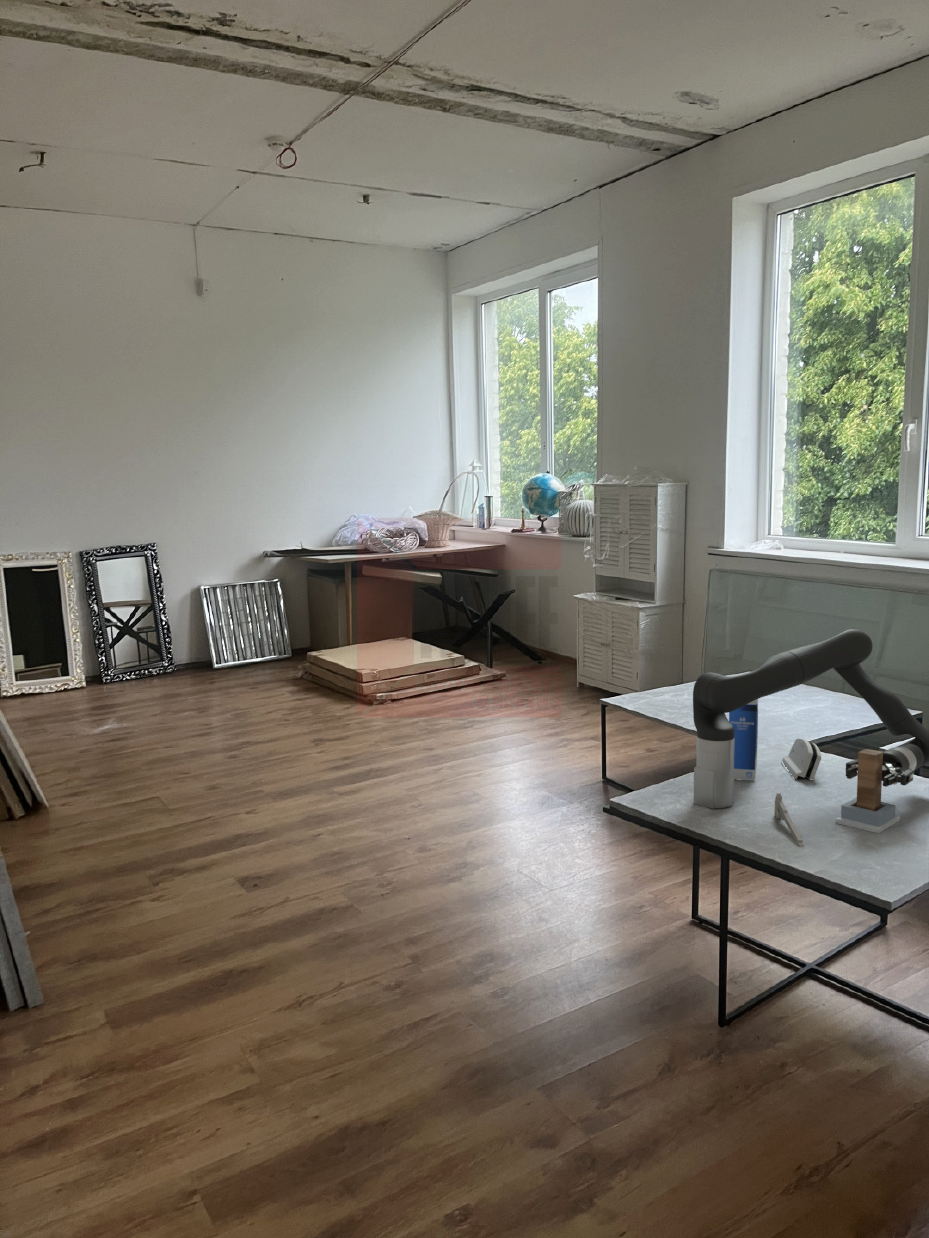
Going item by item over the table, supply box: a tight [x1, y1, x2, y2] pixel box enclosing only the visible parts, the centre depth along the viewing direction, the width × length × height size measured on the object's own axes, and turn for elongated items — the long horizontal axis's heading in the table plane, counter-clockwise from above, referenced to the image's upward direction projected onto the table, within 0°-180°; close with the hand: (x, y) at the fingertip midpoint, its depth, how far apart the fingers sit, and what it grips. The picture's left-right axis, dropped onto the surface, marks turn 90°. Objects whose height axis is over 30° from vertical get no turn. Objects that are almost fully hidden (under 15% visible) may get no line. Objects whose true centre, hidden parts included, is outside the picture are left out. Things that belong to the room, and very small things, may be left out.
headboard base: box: [835, 796, 901, 834], centre depth 215 cm, size 12×10×4 cm
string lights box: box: [728, 699, 759, 781], centre depth 253 cm, size 13×8×26 cm, turn 161°
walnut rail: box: [856, 748, 884, 811], centre depth 214 cm, size 4×4×16 cm
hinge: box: [781, 738, 822, 780], centre depth 255 cm, size 17×5×10 cm, turn 174°
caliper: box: [773, 793, 805, 848], centre depth 210 cm, size 20×1×6 cm, turn 177°
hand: (866, 778), depth 213 cm, fingers open, 8 cm apart
